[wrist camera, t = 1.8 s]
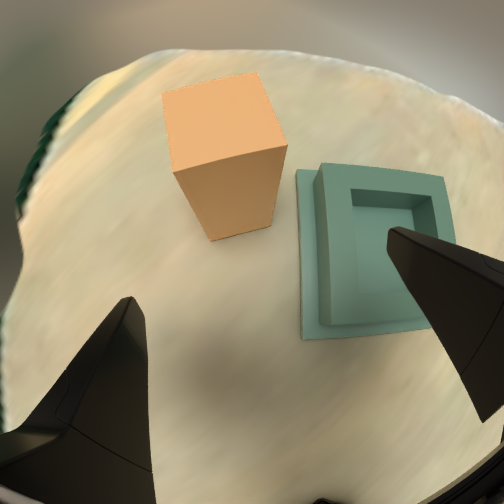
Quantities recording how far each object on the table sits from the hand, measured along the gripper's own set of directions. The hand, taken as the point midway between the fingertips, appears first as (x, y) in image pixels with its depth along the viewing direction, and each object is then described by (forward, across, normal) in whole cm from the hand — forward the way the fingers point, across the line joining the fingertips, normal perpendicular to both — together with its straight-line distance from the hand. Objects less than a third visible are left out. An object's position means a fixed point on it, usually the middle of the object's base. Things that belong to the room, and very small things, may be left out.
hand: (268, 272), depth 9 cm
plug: (+15, 0, +4) cm, 15 cm away
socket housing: (+10, -11, +9) cm, 17 cm away
